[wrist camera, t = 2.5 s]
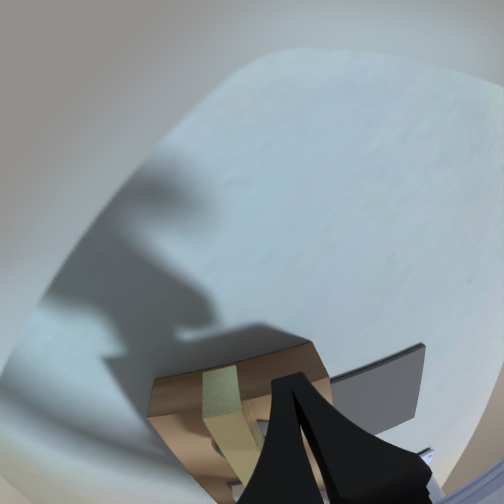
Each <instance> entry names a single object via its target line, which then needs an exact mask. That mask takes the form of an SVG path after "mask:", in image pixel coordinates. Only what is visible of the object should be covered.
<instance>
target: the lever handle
mask: <svg viewBox="0 0 504 504" xmlns="http://www.w3.org/2000/svg"><path fill="white" fill-rule="evenodd" d="M202 419H203V421H204V423H205V424H206V426H207V428H208V430H209V431H210V433H211V435H212V436H213V438H214V440H215V441H216V443H217V445H218V446H219V448H220V449H221V451H222V453H223V454H224V456H225V457H226V459H227V461H228V462H229V464H230V465H231V467H232V468H233V470H234V471H235V473H236V474H237V476H238V477H239V479H240V480H241V482H242V483H243V485H244V486H245V487H246V486H247V484H248V482H249V480H250V478H251V476H252V474H253V471H254V469H255V467H256V464H257V462H258V459H259V456H260V454H261V451H262V447H263V444H264V441H265V437H264V436H263V434H262V432H261V429H260V427H259V424H258V422H257V419H256V417H255V414H254V412H253V409H252V407H251V404H250V401H249V399H248V396H247V394H246V391H245V388H244V386H243V383H242V380H241V378H240V375H239V372H238V370H237V367H236V365H234V366H230V367H226V368H221V369H217V370H212V371H208V372H203V396H202Z"/></svg>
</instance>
